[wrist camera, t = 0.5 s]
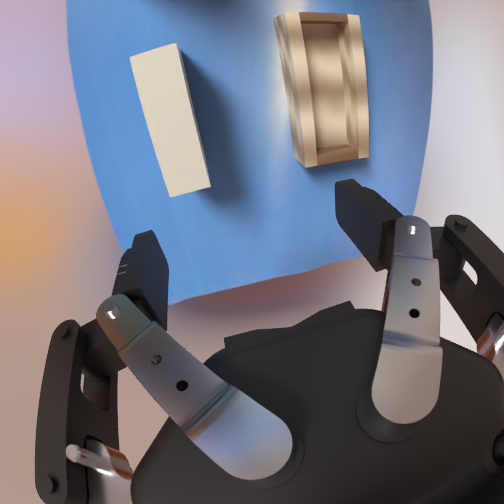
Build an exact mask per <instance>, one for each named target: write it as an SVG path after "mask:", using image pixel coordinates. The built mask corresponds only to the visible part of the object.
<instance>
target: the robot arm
mask: <svg viewBox="0 0 504 504" xmlns="http://www.w3.org/2000/svg"><path fill="white" fill-rule="evenodd" d="M335 210H336V218H337V221H338V224H339V225H340V227H341V228H342V229H343V230H344V232H345V233H346V234H347V235H348V237H349V238H350V239H351V240H352V242H353V243H354V244H355V245H356V247H357V248H358V249H359V250H360V252H361V253H362V254H363V256H364V257H365V258H366V259H367V261H368V262H369V263H370V265H371V266H372V267H373V268H374V270H375V271H376V272H378V271H380V270H383V269H387V270H388V273H387V279H386V287H385V292H384V299H383V304H382V310H381V311H378V310H373V309H355V308H354V306H353V305H352V303H351V302H350V301H347V302H344V303H341V304H338V305H335V306H332V307H329V308H327V309H324V310H321V311H319V312H317V313H315V314H314V315H312V316H310V317H309V318H307V319H305V320H303V321H302V322H300V323H298V324H296V325H294V326H292V327H287V328H273V329H259V330H258V329H257V330H252V331H249V332H245V333H241V334H237V335H233V336H229V337H225V338H224V342H225V348H224V349H221V350H220V351H218V352H216V353H215V354H213V355H212V356H211V357H210V358H208V359H207V360H206V361H205V362H204V363H201V362H200V361H199V360H198V359H197V358H195V357H194V356H193V355H192V354H191V353H190V352H188V351H187V350H186V349H185V348H184V347H183V346H181V345H180V344H179V343H178V342H177V341H176V340H175V339H174V338H173V337H171V336H170V335H169V334H168V333H167V332H166V331H167V308H168V281H169V268H168V263H167V260H166V258H165V255H164V253H163V251H162V249H161V247H160V245H159V242H158V240H157V238H156V236H155V234H154V232H153V231H152V230H149V231H146V232H143V233H140V234H137V235H135V237H134V240H133V244H132V248H130V249H127V251H126V252H125V253H124V255H123V256H122V258H121V261H120V264H119V269H118V272H117V275H116V280H115V284H114V287H113V292H112V296H110V297H109V298H107V299H106V300H104V301H103V302H102V303H101V305H100V306H99V308H98V309H97V312H96V319H94V320H93V321H91V322H89V323H87V324H85V325H83V326H79V324H78V323H77V322H76V321H75V320H66V321H64V322H62V323H61V324H60V325H59V326H58V327H57V328H56V329H55V331H54V332H53V334H52V337H51V341H50V346H49V350H48V354H47V359H46V364H45V369H44V374H43V380H42V386H41V392H40V399H39V408H38V417H37V428H36V442H35V485H36V489H37V492H38V494H39V496H40V498H41V499H42V500H43V502H44V503H46V504H504V253H503V252H502V251H501V250H500V249H499V248H498V247H497V246H496V245H495V244H494V243H493V242H492V241H491V240H490V239H489V238H488V237H487V236H486V235H485V234H484V233H483V232H482V231H481V230H480V229H479V228H478V227H477V226H476V225H475V224H474V223H472V222H471V221H470V220H469V219H467V218H466V217H463V216H460V215H449V216H448V217H447V218H446V220H445V224H444V227H430V226H429V225H428V223H427V222H426V221H425V220H423V219H421V218H419V217H416V216H410V215H407V216H404V215H402V214H401V213H400V212H399V211H398V210H397V209H396V208H394V207H393V206H392V205H391V204H390V203H389V202H388V203H387V201H386V200H385V199H384V198H382V196H380V195H379V194H378V193H377V192H375V191H374V190H371V189H369V188H367V187H362V186H361V185H360V184H359V183H357V182H356V181H355V180H354V179H347V180H342V181H338V182H336V183H335ZM465 261H467V262H468V263H469V264H470V265H471V266H472V267H473V269H474V270H475V271H476V274H477V278H478V280H477V284H476V285H475V284H474V282H473V281H472V280H471V279H470V278H469V276H468V275H467V274H466V273H465V271H464V270H463V267H464V264H465ZM440 290H441V291H442V292H443V294H444V295H445V297H446V298H447V300H448V301H449V302H450V304H451V305H452V307H453V308H454V310H455V311H456V313H457V314H458V315H459V317H460V318H461V320H462V322H463V323H464V324H465V326H466V328H467V329H468V331H469V332H470V334H471V335H472V337H473V339H474V340H475V342H476V344H477V353H476V352H474V351H471V350H469V349H467V348H465V347H462V346H460V345H458V344H456V343H453V342H451V341H449V340H446V339H444V338H442V337H440ZM126 367H128V368H129V369H130V371H131V372H132V373H133V375H135V377H136V378H137V380H138V381H139V382H140V383H141V384H142V386H143V387H144V388H145V389H146V390H147V392H148V393H149V394H150V395H151V396H152V397H153V399H154V400H155V401H156V402H157V403H158V404H159V405H160V406H161V408H163V410H164V411H165V412H166V413H167V414H168V415H169V417H168V419H167V420H166V422H165V423H164V425H163V426H162V428H161V430H160V431H159V433H158V434H157V436H156V438H155V439H154V441H153V442H152V444H151V446H150V447H149V449H148V450H147V452H146V453H145V455H144V457H143V458H142V459H141V461H140V463H139V464H138V466H137V467H136V469H135V471H134V473H133V470H132V468H131V467H130V464H129V462H128V459H127V458H126V456H125V455H124V454H123V453H121V452H120V451H119V437H118V412H117V411H118V410H117V383H118V381H117V380H118V371H120V370H122V369H124V368H126ZM81 374H83V375H84V386H83V393H82V391H81V386H80V384H81Z"/></svg>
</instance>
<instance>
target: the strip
mask: <svg viewBox="0 0 504 504" xmlns="http://www.w3.org/2000/svg"><path fill="white" fill-rule="evenodd" d="M130 61H131V65H132V70H133V74H134V78H135V81H136V85H137V89H138V93H139V97H140V100H141V104H142V108H143V111H144V115H145V118H146V122H147V125H148V129H149V132H150V135H151V139H152V142H153V145H154V149H155V152H156V155H157V158H158V162H159V165H160V168H161V171H162V174H163V177H164V180H165V183H166V186H167V189H168V192H169V195H170V198H171V197H175V196H178V195H182V194H185V193H189V192H193V191H196V190H200V189H204V188H208V187H211V185H210V179H209V173H208V167H207V160H206V156H205V152H204V148H203V144H202V140H201V136H200V132H199V128H198V124H197V119H196V115H195V111H194V107H193V102H192V98H191V94H190V90H189V85H188V81H187V76H186V72H185V68H184V63H183V59H182V54H181V50H180V48H179V47H178V45H177V43H174V44H170V45H167V46H163V47H160V48H156V49H153V50H150V51H147V52H144V53H141V54H138V55H135V56H132V57H130Z"/></svg>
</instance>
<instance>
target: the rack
mask: <svg viewBox="0 0 504 504" xmlns="http://www.w3.org/2000/svg"><path fill="white" fill-rule="evenodd" d="M274 23H275V28H276V34H277V39H278V45H279V51H280V57H281V63H282V69H283V75H284V82H285V89H286V95H287V103H288V110H289V117H290V125H291V133H292V142H293V150H294V157H295V158H296V159H297V160H298V161H299V162H300V163H301V164H302V165H303V166H304V167H305V168H307V167H312V166H318V165H323V164H329V163H335V162H341V161H347V160H353V159H359V158H366V157H369V117H368V94H367V79H366V67H365V57H364V48H363V40H362V33H361V26H360V19H359V15H350V14H337V13H315V12H294V13H283V14H281V15H279V16H278V17H276V18H274Z"/></svg>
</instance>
